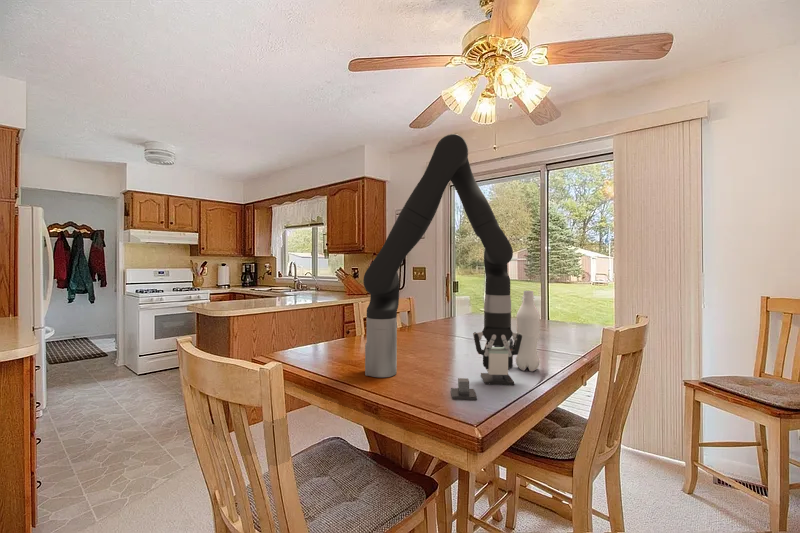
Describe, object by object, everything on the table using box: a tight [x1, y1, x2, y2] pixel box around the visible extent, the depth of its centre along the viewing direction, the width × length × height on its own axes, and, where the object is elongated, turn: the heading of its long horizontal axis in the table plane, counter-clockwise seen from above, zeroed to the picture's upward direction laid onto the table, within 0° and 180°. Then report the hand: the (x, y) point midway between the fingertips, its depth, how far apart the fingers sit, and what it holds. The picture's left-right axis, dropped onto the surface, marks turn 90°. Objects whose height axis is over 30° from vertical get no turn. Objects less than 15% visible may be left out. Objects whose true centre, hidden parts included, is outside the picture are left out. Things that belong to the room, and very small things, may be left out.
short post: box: [450, 377, 478, 401], centre depth 96 cm, size 6×6×4 cm
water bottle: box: [515, 290, 541, 372], centre depth 120 cm, size 7×7×25 cm
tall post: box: [480, 372, 515, 386], centre depth 108 cm, size 8×8×7 cm
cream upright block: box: [485, 346, 509, 375], centre depth 108 cm, size 5×5×7 cm
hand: (496, 368), depth 108 cm, fingers closed on cream upright block, 5 cm apart
